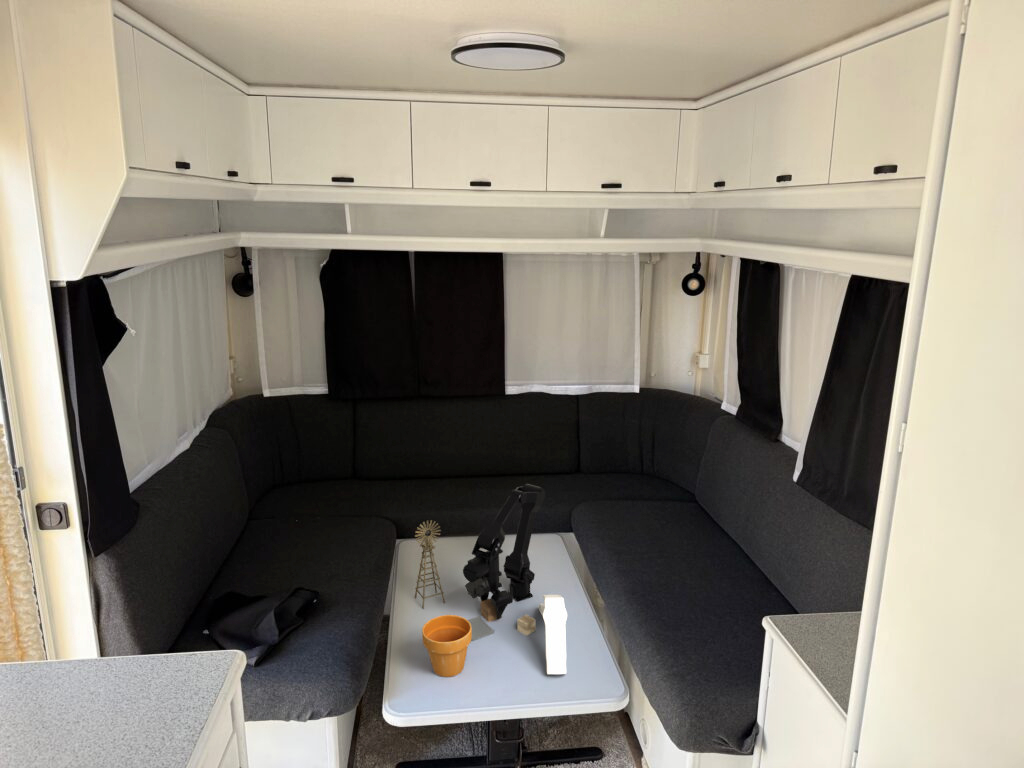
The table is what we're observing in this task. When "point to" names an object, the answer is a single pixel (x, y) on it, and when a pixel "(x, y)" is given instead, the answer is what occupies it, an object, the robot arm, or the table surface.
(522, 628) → the maple cube
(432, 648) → the flower pot
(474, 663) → the table surface
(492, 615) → the walnut cube
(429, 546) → the miniature windmill
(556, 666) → the white elongated block
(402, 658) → the table surface
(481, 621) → the plate
